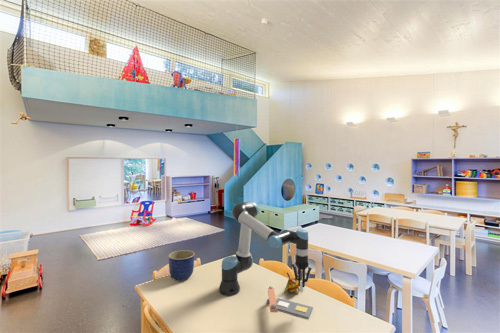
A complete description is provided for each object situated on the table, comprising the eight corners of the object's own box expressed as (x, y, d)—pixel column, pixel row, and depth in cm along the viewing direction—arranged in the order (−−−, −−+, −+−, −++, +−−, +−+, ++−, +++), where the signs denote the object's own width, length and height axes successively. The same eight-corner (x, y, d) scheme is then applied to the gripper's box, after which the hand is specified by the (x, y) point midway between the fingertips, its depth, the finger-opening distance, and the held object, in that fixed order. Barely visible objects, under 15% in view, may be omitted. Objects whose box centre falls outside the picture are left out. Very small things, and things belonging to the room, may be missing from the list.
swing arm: (267, 299, 168) (267, 285, 168) (273, 299, 168) (273, 285, 168) (270, 323, 143) (270, 307, 143) (277, 323, 143) (277, 307, 143)
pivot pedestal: (265, 303, 166) (265, 301, 166) (268, 299, 171) (268, 298, 171) (272, 305, 164) (272, 303, 164) (275, 301, 168) (275, 299, 168)
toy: (300, 294, 174) (290, 274, 177) (288, 298, 177) (278, 278, 180) (304, 286, 186) (294, 267, 189) (293, 290, 190) (284, 271, 193)
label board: (271, 308, 160) (271, 306, 160) (277, 299, 171) (277, 297, 171) (308, 318, 150) (308, 316, 150) (312, 308, 161) (312, 306, 161)
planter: (162, 279, 199) (162, 255, 199) (182, 270, 217) (182, 248, 216) (180, 286, 188) (180, 261, 188) (199, 275, 206) (199, 253, 206)
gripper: (290, 254, 157) (289, 291, 157) (310, 258, 151) (310, 296, 151) (293, 251, 164) (293, 286, 164) (313, 254, 158) (313, 291, 158)
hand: (301, 291), depth 158 cm, fingers closed
